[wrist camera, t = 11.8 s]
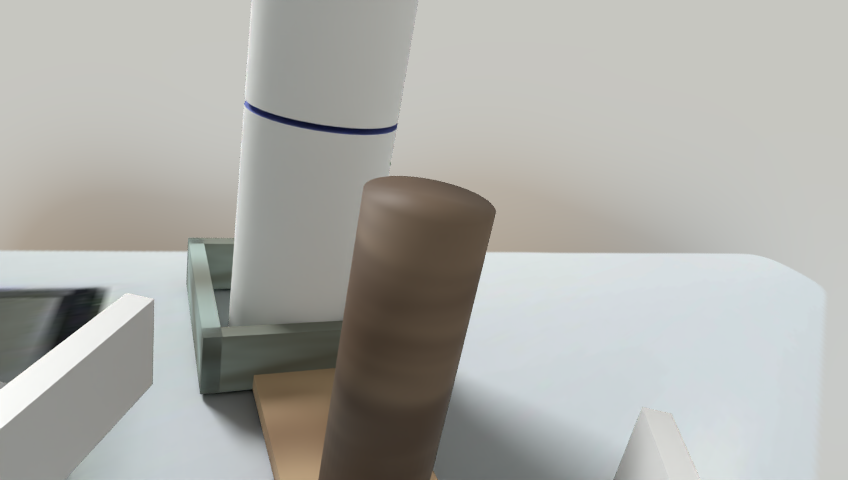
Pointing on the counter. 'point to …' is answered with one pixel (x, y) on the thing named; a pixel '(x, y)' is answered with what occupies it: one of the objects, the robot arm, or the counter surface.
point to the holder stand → (357, 339)
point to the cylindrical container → (312, 149)
